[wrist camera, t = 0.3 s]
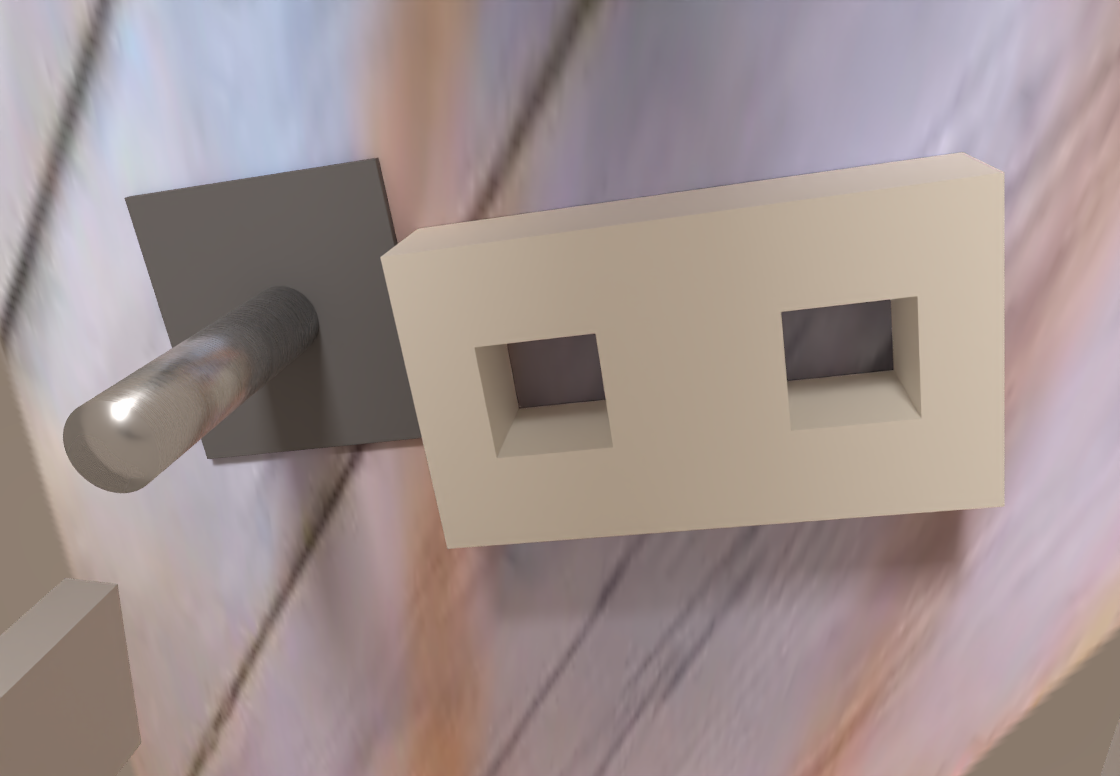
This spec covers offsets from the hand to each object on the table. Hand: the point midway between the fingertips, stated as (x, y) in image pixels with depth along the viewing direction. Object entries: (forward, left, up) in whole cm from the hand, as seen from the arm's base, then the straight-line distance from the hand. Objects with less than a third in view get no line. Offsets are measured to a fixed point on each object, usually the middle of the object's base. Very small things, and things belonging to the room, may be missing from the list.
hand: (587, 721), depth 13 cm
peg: (+1, -16, -27) cm, 31 cm away
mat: (+1, -16, -27) cm, 31 cm away
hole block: (+4, +1, -27) cm, 27 cm away
